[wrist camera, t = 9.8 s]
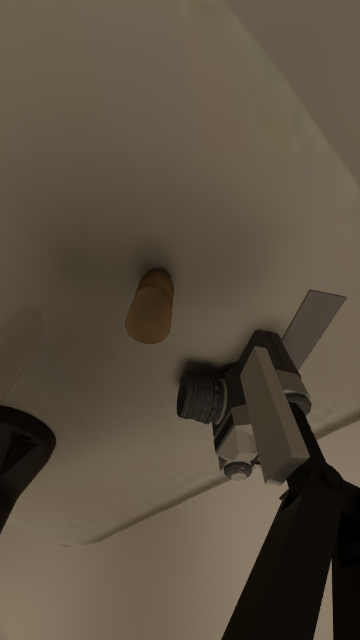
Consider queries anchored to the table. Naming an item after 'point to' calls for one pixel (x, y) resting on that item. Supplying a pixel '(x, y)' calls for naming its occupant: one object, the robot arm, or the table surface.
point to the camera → (237, 405)
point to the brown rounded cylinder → (151, 308)
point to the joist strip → (310, 324)
